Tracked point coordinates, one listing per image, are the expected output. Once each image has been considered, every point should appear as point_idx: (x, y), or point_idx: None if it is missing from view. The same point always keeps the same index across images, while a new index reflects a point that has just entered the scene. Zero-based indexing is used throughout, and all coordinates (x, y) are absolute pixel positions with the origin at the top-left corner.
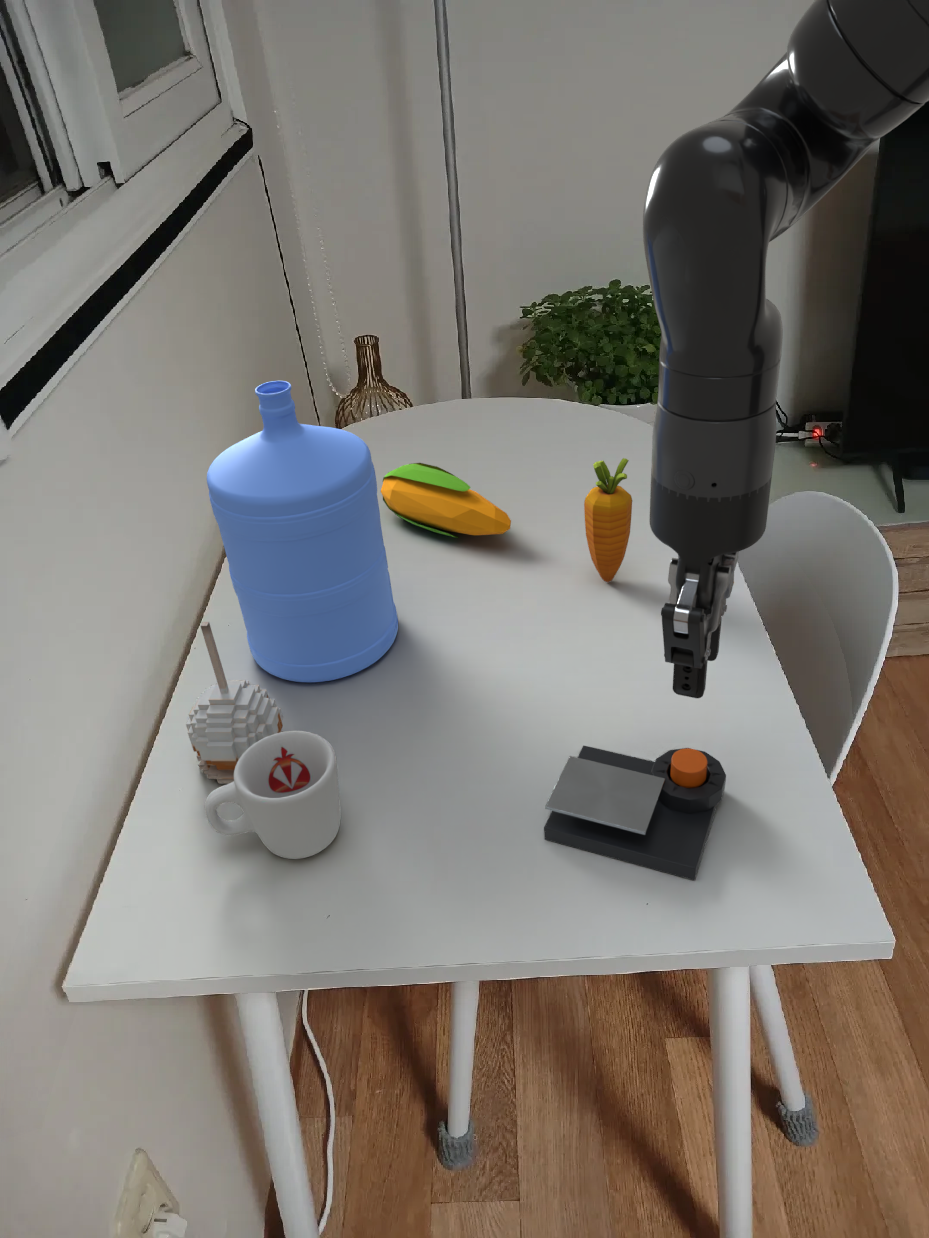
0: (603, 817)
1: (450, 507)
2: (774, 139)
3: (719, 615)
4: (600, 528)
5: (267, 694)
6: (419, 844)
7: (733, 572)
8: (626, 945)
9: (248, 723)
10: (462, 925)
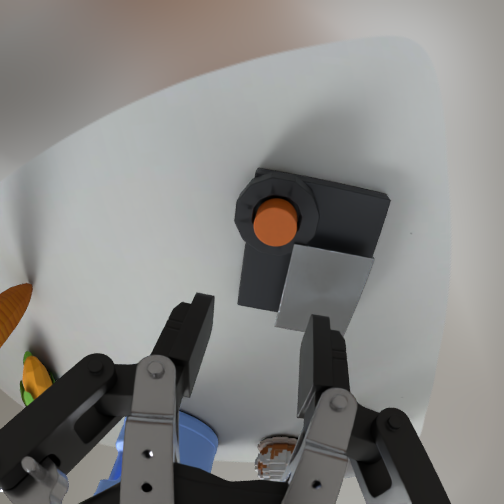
0: (355, 295)
1: (42, 392)
2: None
3: (329, 485)
4: (7, 330)
5: (263, 468)
6: (350, 377)
7: (132, 475)
8: (446, 246)
9: None
10: (419, 344)
